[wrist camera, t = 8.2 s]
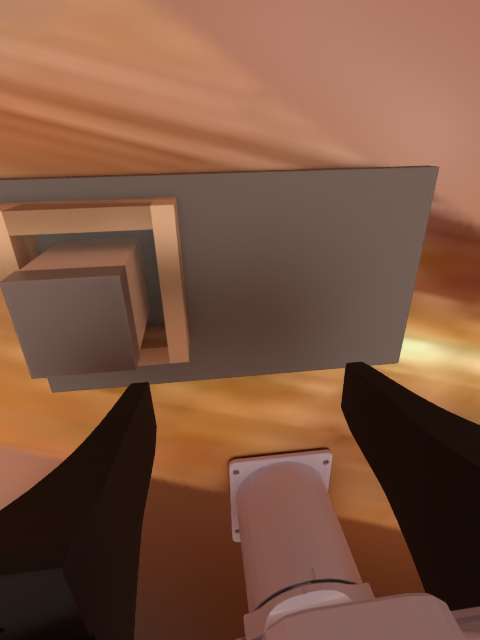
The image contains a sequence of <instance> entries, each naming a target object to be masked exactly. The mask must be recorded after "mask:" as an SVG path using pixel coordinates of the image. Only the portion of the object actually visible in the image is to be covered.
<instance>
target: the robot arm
mask: <svg viewBox="0 0 480 640" xmlns="http://www.w3.org/2000/svg"><path fill="white" fill-rule="evenodd" d="M341 408H342V411H343V414H344V416H345V419H346V421H347V424H348V426H349V429H350V431H351V433H352V435H353V437H354V438H355V440H356V442H357V444H358V446H359V447H360V449H361V451H362V453H363V454H364V456H365V458H366V460H367V461H368V463H369V465H370V467H371V469H372V470H373V472H374V474H375V476H376V477H377V479H378V481H379V483H380V485H381V486H382V488H383V490H384V492H385V494H386V496H387V499H388V501H389V503H390V505H391V508H392V510H393V512H394V515H395V517H396V519H397V521H398V524H399V526H400V529H401V531H402V533H403V536H404V538H405V541H406V543H407V546H408V548H409V550H410V552H411V555H412V558H413V561H414V563H415V566H416V569H417V571H418V574H419V576H420V579H421V582H422V584H423V587H424V590H425V593H406V594H399V595H393V596H387V597H380V598H374V595H373V593H372V590H371V588H370V585H369V584H368V583H362V580H361V578H360V575H359V572H358V570H357V567H356V565H355V562H354V559H353V557H352V554H351V552H350V549H349V546H348V544H347V541H346V539H345V536H344V533H343V531H342V528H341V526H340V523H339V520H338V518H337V515H336V513H335V510H334V507H333V505H332V502H331V500H330V497H329V494H328V488H329V480H330V473H331V465H332V457H333V456H332V453H331V451H330V450H316V451H307V452H298V453H288V454H279V455H270V456H260V457H251V458H242V459H234V460H232V461H230V462H229V481H230V501H231V523H232V539H233V541H235V542H241V547H242V555H243V564H244V573H245V581H246V589H247V598H248V606H249V613H248V614H245V615H244V627H245V634H246V637H243V638H238V639H236V640H480V425H478V424H476V423H473V422H471V421H468V420H466V419H464V418H462V417H460V416H457V415H455V414H453V413H451V412H449V411H447V410H445V409H443V408H441V407H439V406H437V405H435V404H433V403H431V402H429V401H427V400H426V399H424V398H422V397H420V396H418V395H417V394H415V393H413V392H411V391H410V390H408V389H406V388H405V387H403V386H401V385H400V384H398V383H396V382H395V381H393V380H392V379H390V378H388V377H387V376H385V375H384V374H382V373H380V372H379V371H377V370H376V369H374V368H372V367H371V366H369V365H367V364H366V363H364V362H352V363H346V367H345V376H344V385H343V394H342V402H341ZM156 429H157V426H156V420H155V414H154V409H153V403H152V398H151V392H150V386H149V382H141V383H131V384H130V385H129V386H128V388H127V389H126V390H125V392H124V393H123V394H122V396H121V397H120V398H119V400H118V401H117V402H116V404H115V405H114V406H113V408H112V409H111V410H110V411H109V413H108V414H107V415H106V416H105V418H104V419H103V420H102V421H101V423H100V424H99V425H98V426H97V427H96V428H95V430H94V431H93V432H92V433H91V434H90V435H89V436H88V437H87V438H86V440H85V441H84V442H83V443H82V444H81V445H80V446H79V447H78V448H77V449H76V450H75V451H74V452H73V453H72V454H71V455H70V456H69V457H68V458H67V459H66V460H64V461H63V462H62V463H61V464H60V465H59V466H58V467H57V468H56V469H54V470H53V471H52V472H51V473H49V474H48V475H47V476H46V477H45V478H43V479H42V480H41V481H40V482H38V483H37V484H36V485H35V486H33V487H32V488H31V489H30V490H28V491H27V492H26V493H24V494H23V495H21V496H20V497H19V498H17V499H16V500H15V501H13V502H12V503H10V504H9V505H8V506H6V507H4V508H3V509H2V510H0V640H134V626H135V610H136V594H137V580H138V565H139V554H140V543H141V532H142V523H143V516H144V510H145V505H146V499H147V494H148V489H149V483H150V478H151V473H152V467H153V462H154V456H155V446H156ZM234 470H236V471H234Z"/></svg>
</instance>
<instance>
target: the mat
mask: <svg viewBox="0 0 480 640" xmlns="http://www.w3.org/2000/svg"><path fill="white" fill-rule="evenodd" d="M438 170H439V167H436V166H404V167H403V166H402V167H369V168H336V169H303V170H270V171H237V172H204V173H171V174H138V175H105V176H72V177H39V178H6V179H0V204H3V203H22V202H50V201H77V200H105V199H132V198H159V197H176V201H177V211H178V222H179V233H180V243H181V254H182V264H183V275H184V286H185V296H186V307H187V317H188V328H189V339H190V341H189V362H183V363H170V364H158V365H145V366H137V370H133V371H121V372H109V373H96V374H84V375H72V376H60V377H47V378H48V381H49V384H50V387H51V391H52V393H54V392H66V391H77V390H89V389H101V388H113V387H124V386H129V385H130V384H131V383H141V382H149V384H160V383H171V382H183V381H195V380H207V379H218V378H230V377H242V376H254V375H265V374H277V373H289V372H301V371H312V370H324V369H336V368H345V367H346V363H352V362H364V363H366V364H367V365H369V366H371V365H383V364H395V363H398V362H399V357H400V352H401V347H402V343H403V338H404V333H405V328H406V324H407V319H408V314H409V309H410V304H411V300H412V295H413V290H414V285H415V280H416V276H417V271H418V266H419V261H420V257H421V252H422V247H423V242H424V237H425V233H426V228H427V223H428V218H429V213H430V209H431V204H432V199H433V194H434V190H435V185H436V180H437V175H438ZM121 238H140V241H141V248H142V255H143V262H144V269H145V276H146V283H147V290H148V296H149V303H150V312H149V316H148V320H147V324H146V327H150V326H164V325H165V320H164V312H163V304H162V296H161V289H160V281H159V273H158V265H157V257H156V249H155V241H154V233H153V229H149V230H127V231H105V232H82V233H60V234H37V235H36V239H37V243H38V246H39V250H40V254H42V253H43V252H45V251H46V250H47V249H49V248H50V247H51V246H53V245H54V244H55V243H57V242H58V241H78V240H99V239H121Z"/></svg>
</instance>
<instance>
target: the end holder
mask: <svg viewBox="0 0 480 640" xmlns="http://www.w3.org/2000/svg"><path fill="white" fill-rule="evenodd" d="M149 229H153V233H154V241H155V249H156V257H157V265H158V273H159V281H160V289H161V296H162V304H163V312H164V320H165V325H164V326H150V327H146V328H145V332H144V336H143V340H142V343H141V347H140V357H139V361H138V366H145V365H158V364H170V363H183V362H189V341H190V339H189V328H188V317H187V307H186V296H185V286H184V275H183V264H182V254H181V243H180V233H179V222H178V211H177V201H176V197H159V198H132V199H105V200H77V201H50V202H22V203H3V204H0V281H2V280H3V279H5V278H6V277H7V276H9V275H10V274H11V273H13V272H14V271H19V270H20V269H22V268H23V267H24V266H26V265H27V264H28V263H30V262H31V261H32V260H34V259H35V258H37V257H38V256H39V255H41V254H40V250H39V246H38V243H37V239H36V235H37V234H60V233H82V232H105V231H127V230H149ZM14 328H15V327H14ZM15 331H16V330H15ZM16 334H17V333H16ZM17 337H18V336H17ZM18 340H19V339H18ZM19 343H20V342H19ZM20 346H21V345H20ZM21 349H22V348H21ZM22 352H23V351H22ZM23 355H24V354H23Z"/></svg>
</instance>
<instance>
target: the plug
mask: <svg viewBox="0 0 480 640" xmlns="http://www.w3.org/2000/svg"><path fill="white" fill-rule="evenodd" d="M0 286H1V289H2V292H3V295H4V298H5V301H6V304H7V307H8V310H9V313H10V316H11V319H12V322H13V325H14V327H15V330H16V333H17V336H18V339H19V342H20V345H21V348H22V351H23V354H24V357H25V360H26V363H27V366H28V369H29V372H30V375H31V378H32V379H35V378H47V377H60V376H72V375H84V374H96V373H109V372H121V371H133V370H137V366H138V361H139V357H140V347H141V343H142V340H143V336H144V332H145V328H146V324H147V320H148V316H149V312H150V303H149V296H148V290H147V283H146V276H145V269H144V262H143V255H142V248H141V241H140V238H121V239H99V240H78V241H58V242H57V243H55V244H54V245H53V246H51V247H50V248H49V249H47V250H46V251H45V252H43V253H42V254H41V255H39V256H38V257H37V258H35V259H34V260H32V261H31V262H30V263H28V264H27V265H26V266H24V267H23V268H22V269H20V270H19V271H14V272H13V273H11V274H10V275H9V276H7V277H6V278H5V279H3V280H2V281H0Z"/></svg>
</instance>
